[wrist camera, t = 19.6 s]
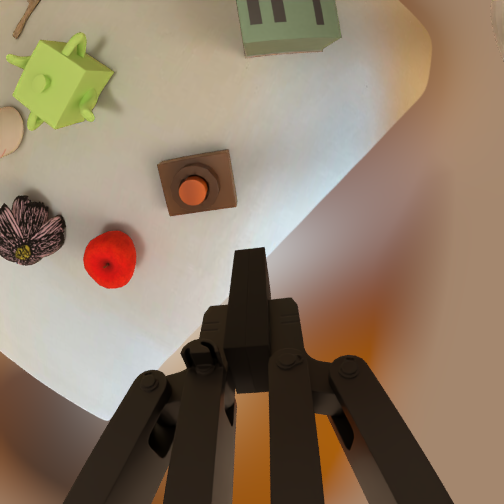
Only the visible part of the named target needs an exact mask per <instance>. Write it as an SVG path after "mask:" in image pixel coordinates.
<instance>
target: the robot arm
mask: <svg viewBox="0 0 504 504" xmlns="http://www.w3.org/2000/svg"><path fill="white" fill-rule="evenodd" d="M181 356H182V358H183V360H184V362H185V364H186V367H187V369H185V370H183V371H181V372H179V373H175V374H171V375H168V376H165V375H164V374H163V372H160V371H158V370H149V371H145V372H143V373H142V374H140V375H139V376H138V377H137V378H136V379H135V381H134V382H133V384H132V385H131V387H130V389H129V390H128V392H127V394H126V395H125V397H124V399H123V400H122V402H121V404H120V405H119V407H118V409H117V410H116V412H115V414H114V415H113V417H112V419H111V420H110V422H109V424H108V425H107V427H106V429H105V430H104V432H103V434H102V435H101V437H100V439H99V441H98V443H97V444H96V446H95V448H94V449H93V451H92V453H91V455H90V456H89V458H88V460H87V461H86V463H85V465H84V467H83V468H82V470H81V472H80V474H79V476H78V477H77V479H76V481H75V483H74V484H73V486H72V488H71V490H70V491H69V493H68V495H67V497H66V499H65V501H64V502H63V504H151V503H152V500H153V498H154V496H155V494H156V492H157V490H158V488H159V485H160V483H161V481H162V479H163V477H164V474H165V472H166V470H167V468H168V466H169V469H168V475H167V481H166V487H165V494H164V500H163V504H232V494H233V473H234V452H235V451H234V450H235V432H236V413H237V404H236V400H235V388H236V392H237V394H240V393H257V392H269V421H270V423H269V424H270V483H271V484H270V485H271V486H270V490H271V504H324V494H323V484H322V474H321V466H320V456H319V447H318V439H317V430H316V422H315V414H314V413H317V414H323V415H327V417H328V419H329V421H330V423H331V425H332V427H333V429H334V431H335V433H336V435H337V438H338V440H339V442H340V444H341V446H342V448H343V450H344V452H345V454H346V456H347V459H348V461H349V463H350V465H351V467H352V469H353V471H354V473H355V475H356V477H357V479H358V482H359V484H360V486H361V488H362V490H363V492H364V494H365V496H366V499H367V501H368V503H369V504H454V503H453V501H452V499H451V498H450V496H449V494H448V492H447V491H446V489H445V488H444V486H443V484H442V482H441V481H440V479H439V477H438V476H437V474H436V472H435V471H434V469H433V467H432V466H431V464H430V462H429V461H428V459H427V457H426V456H425V454H424V452H423V451H422V449H421V448H420V446H419V444H418V443H417V441H416V440H415V438H414V436H413V435H412V433H411V431H410V430H409V428H408V427H407V425H406V423H405V422H404V420H403V419H402V417H401V416H400V414H399V412H398V411H397V409H396V408H395V406H394V404H393V403H392V401H391V400H390V398H389V397H388V395H387V394H386V392H385V391H384V389H383V387H382V386H381V384H380V383H379V381H378V380H377V378H376V377H375V375H374V374H373V372H372V371H371V369H370V368H369V366H368V365H367V363H366V362H365V361H364V360H363V359H362V358H359V357H357V356H353V355H345V356H341V357H339V358H337V359H335V360H334V361H333V362H332V363H329V362H322V361H317V360H315V359H313V358H311V357H310V356H309V355H308V354H307V353H306V351H305V349H304V344H303V337H302V331H301V324H300V318H299V312H298V306H297V304H296V302H295V301H294V300H293V299H292V298H283V299H273V300H271V293H270V285H269V277H268V269H267V262H266V254H265V247H261V248H253V249H244V250H235V253H234V261H233V269H232V277H231V285H230V293H229V302H228V305H218V306H210V307H209V308H208V310H207V311H206V312H205V314H204V317H203V322H202V327H201V332H200V337H199V339H197V340H193V341H191V342H189V343H188V344H187V345H185V346H184V347H183V349H182V351H181Z"/></svg>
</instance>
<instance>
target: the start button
mask: <svg viewBox="0 0 504 504" xmlns="http://www.w3.org/2000/svg"><path fill="white" fill-rule="evenodd" d="M207 191H208V187H207V184H206V182H205V181H204V180H203V179H202V178H200V177H198V176H191V177H188V178H187V179H185V180H184V182H183V183H182V184H181V186H180V188H179V196H180V198H181V200H182V201H183V202H184V203H186V204H188V205H198V204H200V203H201V202H203V200H204V199H205V197H206V194H207Z"/></svg>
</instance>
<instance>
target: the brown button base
mask: <svg viewBox="0 0 504 504" xmlns="http://www.w3.org/2000/svg"><path fill="white" fill-rule="evenodd" d="M157 166H158V171H159V175H160V179H161V183H162V187H163V191H164V196H165V200H166V204H167V207H168V211H169V215H170V216H176V215H182V214H189V213H196V212H203V211H210V210H217V209H224V208H232V207H236V206H237V197H236V191H235V185H234V179H233V173H232V167H231V161H230V155H229V150H221V151H215V152H209V153H203V154H197V155H192V156H186V157H181V158H176V159H171V160H166V161H162V162H160V163H159V164H158V165H157ZM191 176H198V177H200V178H202V179H203V180H204V181H205V182H206V184H207V187H208V191H207V194H206V197H205V199H204V200H203V202H201V203H200V204H198V205H188V204H186V203H184V202H183V201H182V200H181V198H180V196H179V188H180V186H181V184H182V183H183V182H184V180H185V179H187V178H188V177H191Z"/></svg>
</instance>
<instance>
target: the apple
mask: <svg viewBox="0 0 504 504" xmlns="http://www.w3.org/2000/svg"><path fill="white" fill-rule="evenodd" d="M83 261H84V267H85V269H86V271H87V272H88V274H89V275H90V276H91V277H92V278H93V279H94V280H95V281H96V282H97V283H98V284H99V285H100V286H103V287H105V288H108V289H110V288H119V287H122V286H124V285H126V284H127V283H128V282H129V281H130V279H131V277H132V276H133V273H134V269H135V265H136V251H135V247H134V244H133V241H132V240H131V238H130V237H129V236H128V235H127V234H125V233H123V232H121V231H108V232H106V233H103V234H101V235H99V236H97V237H96V238H94V239H92V240H91V241H90V242H89V244H88V245H87V247H86V250H85V253H84V257H83Z"/></svg>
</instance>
